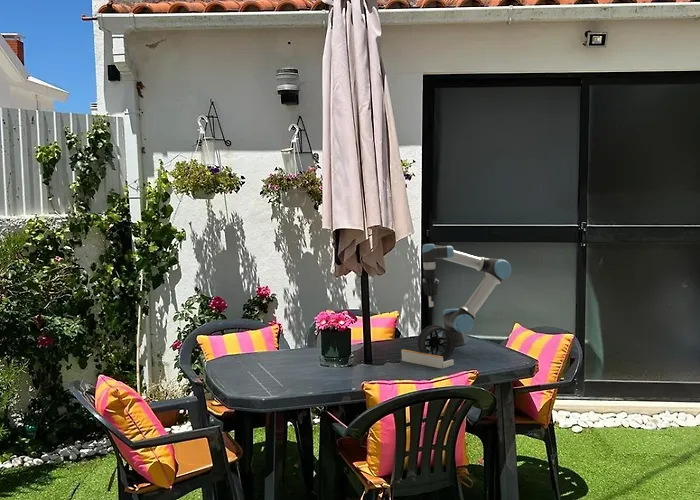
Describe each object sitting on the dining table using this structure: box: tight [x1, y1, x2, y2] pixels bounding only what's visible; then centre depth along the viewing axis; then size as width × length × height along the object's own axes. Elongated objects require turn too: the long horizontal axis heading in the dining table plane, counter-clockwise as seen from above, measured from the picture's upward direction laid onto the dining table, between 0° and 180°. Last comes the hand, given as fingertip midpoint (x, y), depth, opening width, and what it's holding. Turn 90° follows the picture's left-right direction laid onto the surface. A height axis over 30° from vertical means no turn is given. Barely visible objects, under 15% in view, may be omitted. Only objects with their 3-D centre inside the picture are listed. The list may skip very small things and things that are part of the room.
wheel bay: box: [400, 349, 455, 369], centre depth 374 cm, size 10×31×7 cm, turn 41°
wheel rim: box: [417, 324, 456, 362], centre depth 379 cm, size 20×9×20 cm, turn 104°
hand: (431, 306), depth 402 cm, fingers closed
